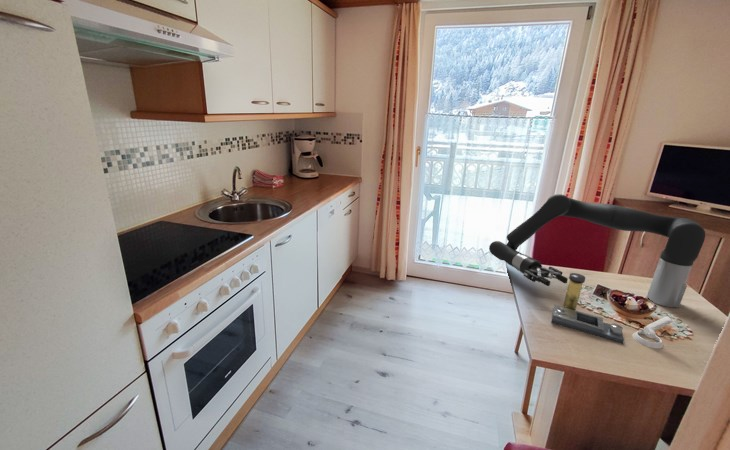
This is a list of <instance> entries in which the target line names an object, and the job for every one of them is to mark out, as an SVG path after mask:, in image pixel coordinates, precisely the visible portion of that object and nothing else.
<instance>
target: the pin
mask: <svg viewBox="0 0 730 450" xmlns="http://www.w3.org/2000/svg"><path fill="white" fill-rule="evenodd" d="M568 279H569V282H568V285H567V286H568V287H567V288H566V289H567V290H566V293H565V298H564V302H563V305H562V307H564V308H568V309H571V310H575V311H577V307H578V303H579V299H580V295H581V291H582V288H583V284H584V283H585V281H586V276H585V275H583V274H581V273H576V272H570V273H569V275H568Z"/></svg>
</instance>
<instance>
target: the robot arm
mask: <svg viewBox="0 0 730 450" xmlns="http://www.w3.org/2000/svg"><path fill="white" fill-rule="evenodd" d="M558 217H567V218H575V219H580V220H583V221H587V222H590V223H592V224H596V225H599V226H602V227H606V228H610V229H614V230H619V231H626V232H645V233H651V234H656V235H659V236H663V237H666V238H668V239H667V242H666V245H665V247H664V249H663V250H662V251H661V253H660V255H659V256H660V257H659V259H658V261H657V266H656V268H655V271H654V274H653V276H652V280H651V282H650V286H649V288H648V291H647V295H646V298H647V299H648V298H649V299H651V300H652V301H653V302H652V301H651V302H652V303H654V304H657V305H659V306H663V307H669V308H680V306H681V303H682V300H683V298H684V295H685V293H686V289H687V287H688V284H687V281H688V277H689V276H690V272H691V270H692V267H693V265H694V262H695V261H696V260H697V258H698V257H699V254H700V252H701V249H702V247H703V245H704V243H705V239H706V230H705V229H704V228H703V226H702V225H700V223H699V222H697V221H696V220H693V219H690V218H685V217H676V216H669V215H659V214H654V213H651V212H648V211H647V212H646V211H643V210H639V209H635V208H630V207H626V206H621V205H615V204H608V203H601V202H600V203H599V202H598V203H597V202H588V201H587V202H586V201H582V200H579V199H575V198H572V197H568V196H566V195H565V194H560V193H557V194H553V195H551V196H549V197H548V199H547V200H546V201H545V202H544V204H543V205H542V206H541V207H540V208H539V209H538V210H537V211H536V212H535V213H534V214H532V216H530V217H529V218H527V219H526V220H525V221H523V222H522V223H521V224H519V225H518V226H516V227H515V228H514V229H513V230H511V232H509V233H508V234H507V236H506V240H507V241H508V242H507V243H506V244H505V243H504V242H502V241H501V240H500V241H499V240H495V241H492V242H491V243H490V244H489V246H488V247H489V253H490V254H491V255H492V256H494V257H495V258H497V259H498V260H499V261H504V262H505V263H506V264H508V265H509V266H511V267H513V268H514V269H515V270H517V271H518V272H520V273H522V274H523V276H524V278H526V279H527V280H529V281H530V282H533V283H536V282H537V283H541V284H543V285H544V286H546V287H550V285H551V280H552V279H555V280H557V281H559V282H561V283H564V284H567V283H568V279H569V277H566V276H564V275H563V271H561V270H559V269H557V268H555V267H554V266H553V267H552V266H548V267H544V266H543V265H542V263H541V262H540V261H539V260H537V259H535V258H533V257H531V256H529V255H527V254H525V253H522V252H520V251H518V248H519V247H520V246H521V245H522V244H524V243H525V242H526V241H527V240H529V239H530V238H531V237H533V236H534V234H536V233H537V232H538V231H539V230H540V229H542V228H543V227H544V226H545V225H546V224H548V223H550V222H551V221H553V220H554V219H556V218H558ZM549 279H550V280H549ZM649 299H648V300H649Z"/></svg>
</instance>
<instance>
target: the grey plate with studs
mask: <svg viewBox="0 0 730 450" xmlns="http://www.w3.org/2000/svg"><path fill="white" fill-rule="evenodd" d="M551 324H554V325H558V326H561V327H563V328H568V329H570V330H574V331H577V332H581V333H584V334H587V335H591V336H595V337H598V338H601V339H603V340H607V341H611V342H614V343H617V344H621V345H623V344H624V342H625V341H624V340H625V338H624V334H623V326H622V325H620V324H617V323H607V322H604V318H603V317H601V316H600V317H599V316H596V315H593V314H589V313H585V312H582V311H578V310H576V311H575V310H571V309H568V308H564V307H563V306H559V305H557V304H554V305H553V310H552V315H551Z"/></svg>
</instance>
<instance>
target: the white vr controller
mask: <svg viewBox="0 0 730 450" xmlns="http://www.w3.org/2000/svg"><path fill="white" fill-rule="evenodd" d="M672 323H673V319H671V318H670V316H668V315H667V316H664V317H662V318H660V319H657V320H655V321H654V322H653V321H652V322H651V323H649V324H647V325H646V326H644V327H643V330H637V331H635V332H634V333H633V334H632V338H633V340H634V341H636V342H637V343H639V344H641V345H642V346H645V347H647V348H651V349H662V348H664V344H663V341H662V338H660V337H659V336H658V335H656V331H657V330H659V329H661V328H663V327H666V326H668V325H670V324H672ZM640 335H645V337H647V338H648V339H654V340H656V341H657V342H655V341H651V340H648V339H645V338H643V337H641V336H640Z"/></svg>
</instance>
